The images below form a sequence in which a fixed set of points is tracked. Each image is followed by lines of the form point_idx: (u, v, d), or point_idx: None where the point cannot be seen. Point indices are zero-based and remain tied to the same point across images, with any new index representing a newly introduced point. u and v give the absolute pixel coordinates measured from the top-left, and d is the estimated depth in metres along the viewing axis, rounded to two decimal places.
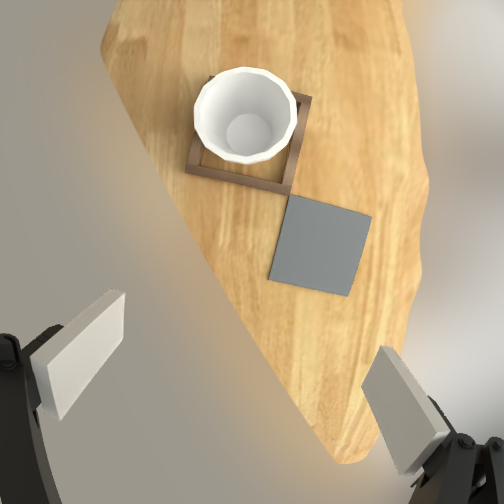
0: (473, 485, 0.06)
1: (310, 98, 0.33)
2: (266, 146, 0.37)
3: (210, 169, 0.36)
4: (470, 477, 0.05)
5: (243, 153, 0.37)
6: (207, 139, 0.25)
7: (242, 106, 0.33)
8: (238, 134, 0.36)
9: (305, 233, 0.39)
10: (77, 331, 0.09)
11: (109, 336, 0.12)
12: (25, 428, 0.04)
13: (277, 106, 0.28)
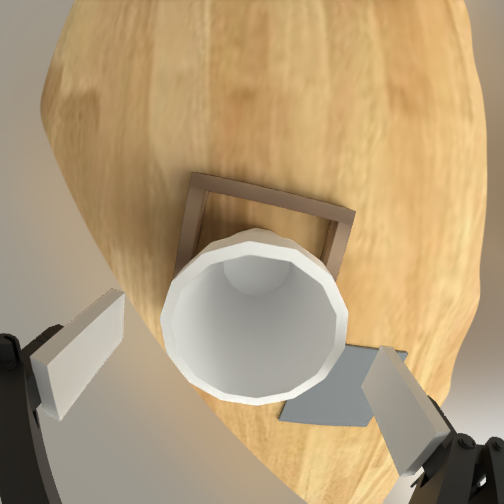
0: (473, 485, 0.06)
1: (353, 214, 0.23)
2: (282, 282, 0.26)
3: None
4: (470, 476, 0.05)
5: (248, 292, 0.27)
6: (191, 372, 0.15)
7: None
8: (241, 264, 0.26)
9: (325, 379, 0.29)
10: (77, 331, 0.09)
11: (109, 336, 0.12)
12: (25, 428, 0.04)
13: (307, 274, 0.18)
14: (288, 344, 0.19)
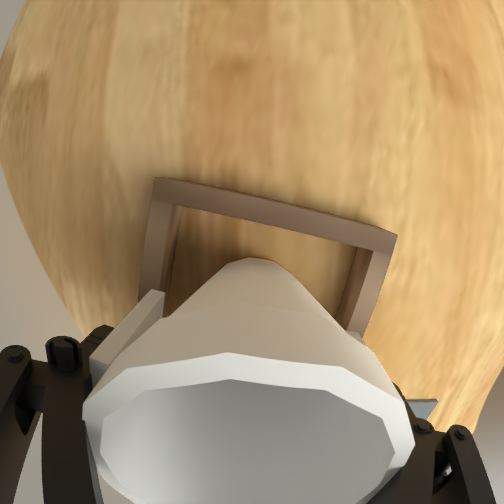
0: (438, 474, 0.07)
1: (393, 239, 0.15)
2: None
3: None
4: (431, 462, 0.06)
5: None
6: None
7: None
8: None
9: None
10: (130, 331, 0.10)
11: None
12: (80, 431, 0.05)
13: None
14: (299, 445, 0.11)
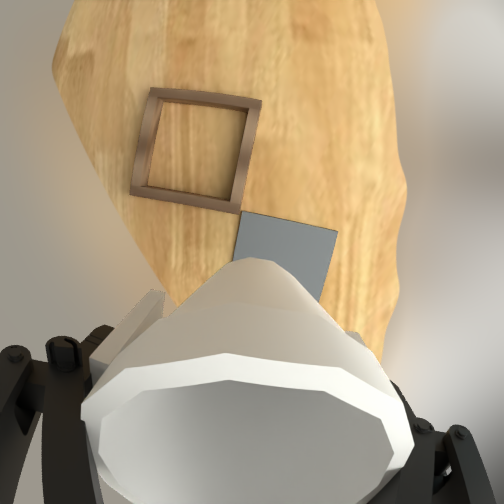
0: (438, 474, 0.07)
1: (259, 102, 0.30)
2: None
3: (154, 190, 0.33)
4: (431, 462, 0.06)
5: None
6: None
7: None
8: None
9: (260, 253, 0.36)
10: (130, 331, 0.10)
11: None
12: (80, 431, 0.05)
13: None
14: (298, 445, 0.11)
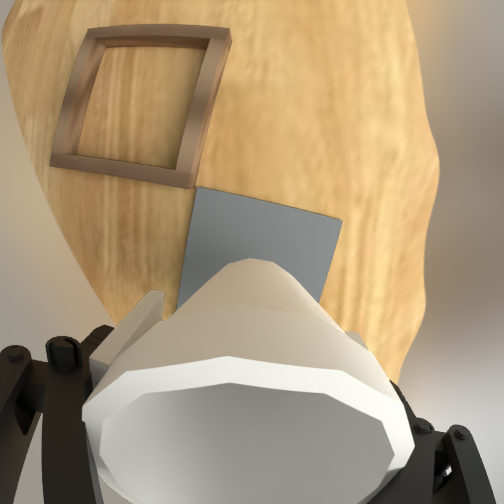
0: (438, 474, 0.07)
1: (226, 30, 0.18)
2: None
3: (77, 157, 0.20)
4: (431, 462, 0.06)
5: None
6: None
7: None
8: None
9: (224, 250, 0.24)
10: (130, 330, 0.10)
11: None
12: (80, 431, 0.05)
13: None
14: (299, 446, 0.11)
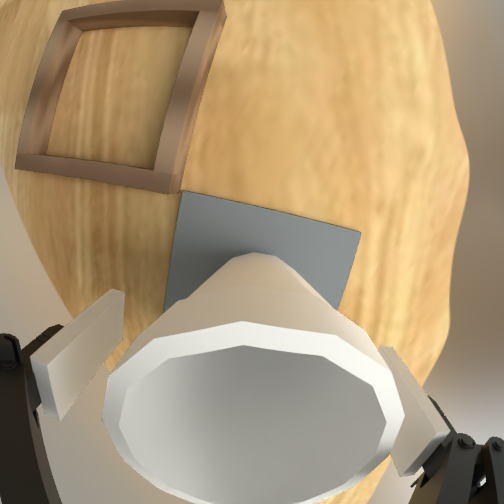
0: (473, 485, 0.06)
1: (219, 2, 0.13)
2: None
3: (42, 157, 0.16)
4: (470, 476, 0.05)
5: None
6: (160, 481, 0.08)
7: None
8: None
9: (216, 269, 0.20)
10: (77, 331, 0.09)
11: (109, 336, 0.12)
12: (25, 428, 0.04)
13: None
14: (300, 426, 0.12)
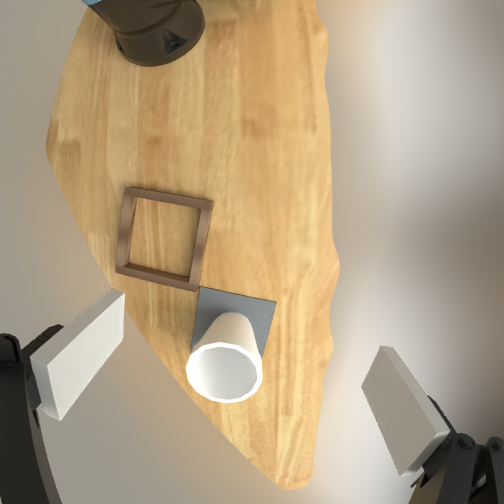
0: (473, 485, 0.06)
1: (209, 204, 0.41)
2: None
3: (133, 270, 0.43)
4: (470, 476, 0.05)
5: None
6: (198, 388, 0.34)
7: None
8: None
9: (215, 317, 0.46)
10: (77, 331, 0.09)
11: (109, 336, 0.12)
12: (25, 428, 0.04)
13: None
14: (243, 376, 0.38)
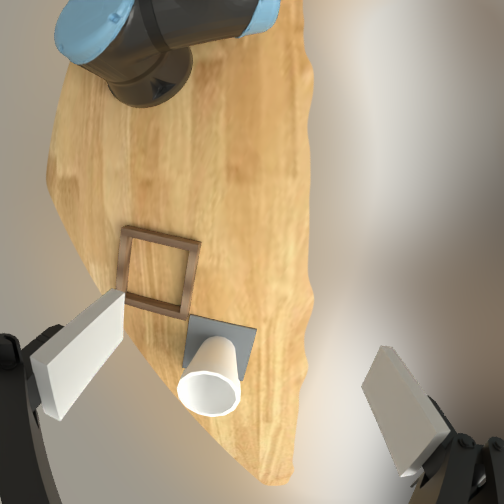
0: (473, 485, 0.06)
1: (197, 246, 0.46)
2: None
3: (131, 300, 0.48)
4: (470, 476, 0.05)
5: None
6: (187, 404, 0.40)
7: None
8: None
9: (203, 340, 0.52)
10: (77, 331, 0.09)
11: (109, 336, 0.12)
12: (25, 428, 0.04)
13: None
14: (226, 393, 0.44)
